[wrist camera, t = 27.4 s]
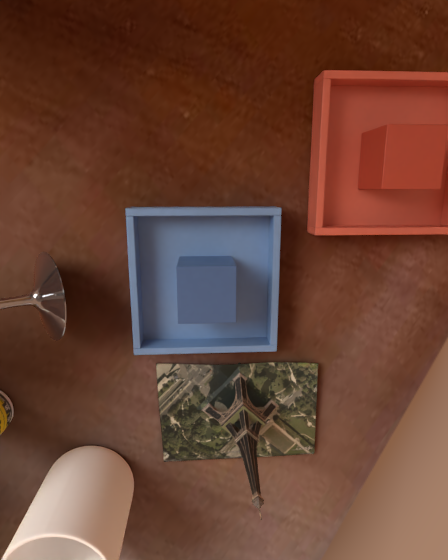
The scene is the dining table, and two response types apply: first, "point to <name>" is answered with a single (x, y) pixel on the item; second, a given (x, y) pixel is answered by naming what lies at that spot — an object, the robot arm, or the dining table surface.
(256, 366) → the eiffel tower figurine
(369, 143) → the red block
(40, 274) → the wine glass
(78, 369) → the dining table surface
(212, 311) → the blue block
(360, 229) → the red tray
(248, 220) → the blue tray
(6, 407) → the supplement bottle
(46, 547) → the cup
